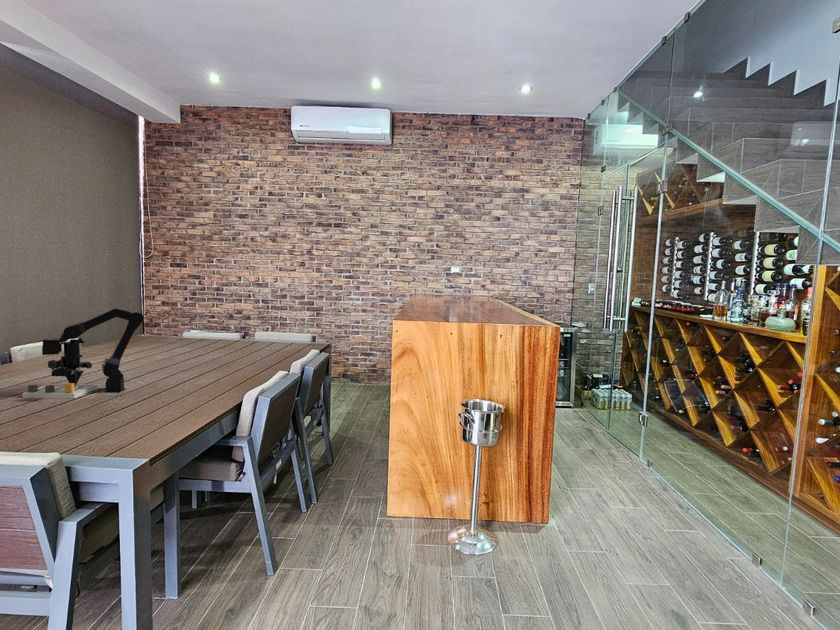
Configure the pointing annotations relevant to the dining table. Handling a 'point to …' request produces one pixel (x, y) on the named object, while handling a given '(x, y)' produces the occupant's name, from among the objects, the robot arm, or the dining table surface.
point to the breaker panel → (57, 391)
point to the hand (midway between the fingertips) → (73, 387)
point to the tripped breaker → (69, 387)
